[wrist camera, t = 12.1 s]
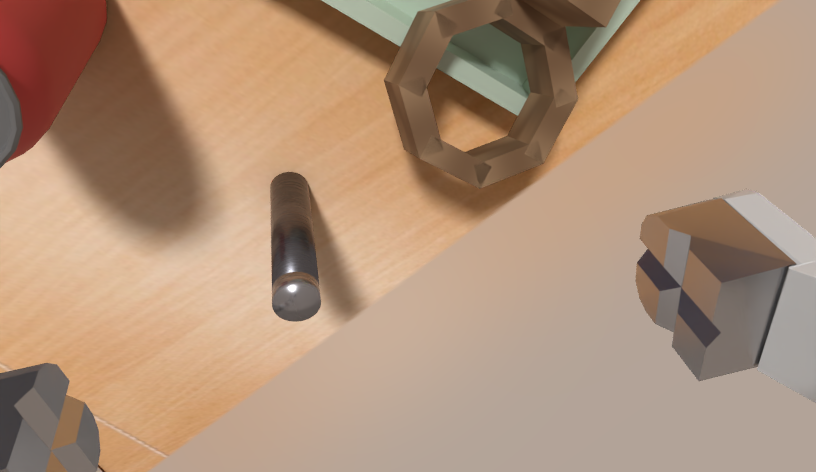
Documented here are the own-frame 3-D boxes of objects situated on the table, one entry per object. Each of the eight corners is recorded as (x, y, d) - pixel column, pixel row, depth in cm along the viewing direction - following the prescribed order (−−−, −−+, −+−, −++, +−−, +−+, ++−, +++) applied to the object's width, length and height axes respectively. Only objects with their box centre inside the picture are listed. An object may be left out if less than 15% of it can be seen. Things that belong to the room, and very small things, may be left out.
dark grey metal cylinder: (297, 209, 38) (306, 326, 30) (263, 195, 37) (264, 312, 29) (315, 181, 37) (329, 295, 29) (281, 166, 36) (286, 279, 28)
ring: (360, 127, 30) (397, 151, 25) (492, -143, 29) (563, -180, 23) (498, 196, 34) (556, 230, 29) (624, -41, 32) (712, -52, 27)
